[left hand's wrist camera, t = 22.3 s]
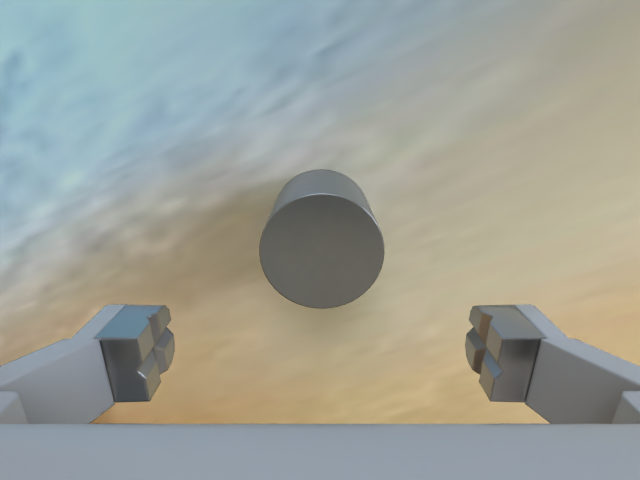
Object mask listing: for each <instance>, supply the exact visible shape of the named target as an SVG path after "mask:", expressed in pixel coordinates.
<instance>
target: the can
mask: <svg viewBox="0 0 640 480" xmlns="http://www.w3.org/2000/svg"><path fill="white" fill-rule="evenodd" d="M259 255H260V262H261V265H262V269H263V271H264V273H265V276H266V277H267V279H268V281H269V282H270V284H271V285H272V286H273V287H274V288H275V289H276V290H277V291H278V292H279V293H280V294H281V295H283V296H284V297H285V298H287V299H289V300H290V301H292V302H294V303H297V304H299V305H302V306H306V307H311V308H322V309H323V308H333V307H338V306H341V305H345V304H347V303H349V302H352V301H353V300H355V299H357V298H358V297H360V296H361V295H362V294H364V293H365V292H366V291H367V290H368V289H369V288H370V287H371V286H372V284H373V283H374V282H375V280H376V278H377V277H378V275H379V273H380V270H381V268H382V264H383V260H384V242H383V237H382V234H381V230H380V228H379V226H378V224H377V222H376V219H375V217H374V215H373V213H372V211H371V208H370V206H369V204H368V202H367V200H366V198H365V195H364V193H363V192H362V190H361V189H360V188H359V186H358V185H357V184H356V183H355V182H354V181H352V180H351V179H350V178H348V177H347V176H345V175H343V174H341V173H338V172H335V171H331V170H312V171H308V172H305V173H302V174H300V175H298V176H296V177H295V178H293V179H292V180H291V181H290V182H288V183H287V184H286V185H285V187H284V188H283V189H282V190H281V192H280V194H279V196H278V198H277V200H276V202H275V205H274V207H273V209H272V212H271V214H270V216H269V219H268V221H267V223H266V226H265V228H264V230H263V233H262V236H261V240H260V247H259Z"/></svg>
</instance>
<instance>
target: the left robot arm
mask: <svg viewBox="0 0 640 480" xmlns="http://www.w3.org/2000/svg"><path fill="white" fill-rule="evenodd" d="M170 321H171V317H170V312H169V309H168V308H167V306H166V305H127V304H119V305H106V306H105V307H104V308H103V309H102V310H101V311H100V312H98V313H97V314H96V315H95V316H94V317H93V318H92V319H91V320H90V321H89V322H88V323H87V324H86V325H85V326H84V327H83V328H82V329H81V330H80V331H79V332H77V333H76V334H75V335H74V336H73V337H72V338H71V339H63V340H61V341H58V342H56V343H54V344H51V345H49V346H47V347H44V348H42V349H40V350H37V351H35V352H33V353H30V354H28V355H26V356H23V357H21V358H19V359H16V360H14V361H12V362H9V363H7V364H4V365H2V366H0V480H640V366H638V365H635V364H633V363H631V362H628V361H626V360H624V359H621V358H619V357H617V356H614V355H612V354H610V353H607V352H605V351H603V350H600V349H598V348H596V347H593V346H591V345H589V344H586V343H584V342H582V341H579V340H577V339H569V338H568V337H567V336H566V335H565V334H564V333H563V332H562V331H560V330H559V329H558V328H557V327H556V326H555V325H554V324H553V323H552V322H551V321H550V320H549V319H548V318H547V317H546V316H545V315H544V314H543V313H542V312H541V311H540V310H538V309H537V308H536V307H535V306H533V305H531V304H523V305H484V306H473V307H472V309H471V311H470V316H469V321H470V322H471V324H472V325H473V328H472V329H471V330H470V331H469V332H468V333H467V335H466V343H465V348H466V356H467V360H468V363H469V365H470V367H471V368H472V370H474V371H475V372H477V373H478V374H480V379H479V383H480V384H481V386H482V388H483V390H484V391H485V393H486V395H487V397H488V398H489V400H490V401H495V402H526V403H525V404H526V405H527V406H529V407H530V408H531V409H533V410H534V411H535V412H536V413H538V414H539V415H540V416H542V417H543V418H544V419H546V420H547V421H548V422H549V423H551V424H89V423H91V422H92V421H93V420H95V419H96V418H97V417H98V416H100V415H101V414H102V413H104V412H105V411H106V410H108V409H109V408H110V407H112V406H113V405H114V404H115V403H114V402H144V401H150V400H151V399H152V397H153V395H154V393H155V391H156V390H157V388H158V386H159V384H160V383H161V379H160V374H162V373H163V372H165V371H167V370H168V368H169V366H170V365H171V363H172V360H173V355H174V351H175V341H174V335H173V333H172V332H171V331H170V330H169V329H168V328H167V325H168V324H169V322H170Z"/></svg>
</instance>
